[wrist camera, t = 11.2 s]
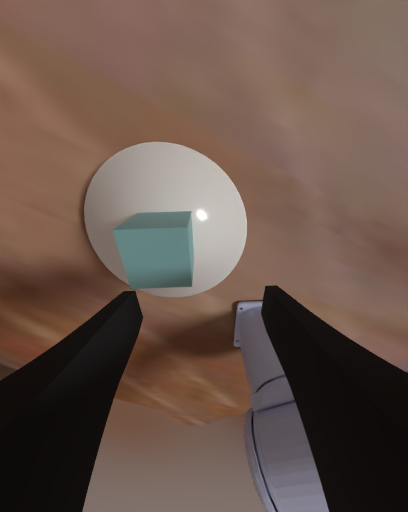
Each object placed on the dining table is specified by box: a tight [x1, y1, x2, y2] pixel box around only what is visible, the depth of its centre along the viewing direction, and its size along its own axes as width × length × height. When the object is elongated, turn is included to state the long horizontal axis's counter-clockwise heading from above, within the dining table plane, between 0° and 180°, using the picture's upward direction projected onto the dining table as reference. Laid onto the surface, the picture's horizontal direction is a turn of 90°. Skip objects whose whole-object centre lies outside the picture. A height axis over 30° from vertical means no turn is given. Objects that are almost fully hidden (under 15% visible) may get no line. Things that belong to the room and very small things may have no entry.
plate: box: [84, 142, 247, 297], centre depth 17 cm, size 16×16×1 cm
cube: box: [113, 211, 194, 289], centre depth 14 cm, size 5×5×5 cm
